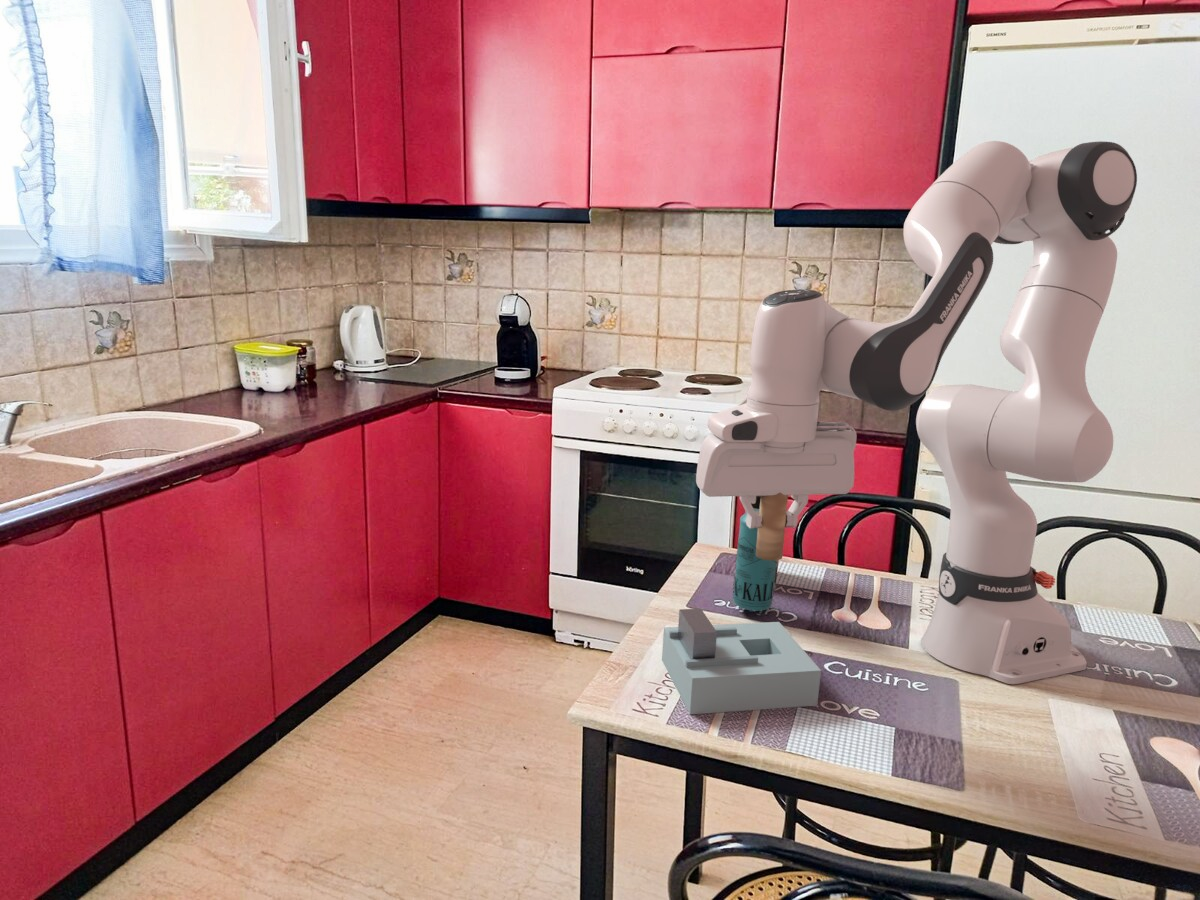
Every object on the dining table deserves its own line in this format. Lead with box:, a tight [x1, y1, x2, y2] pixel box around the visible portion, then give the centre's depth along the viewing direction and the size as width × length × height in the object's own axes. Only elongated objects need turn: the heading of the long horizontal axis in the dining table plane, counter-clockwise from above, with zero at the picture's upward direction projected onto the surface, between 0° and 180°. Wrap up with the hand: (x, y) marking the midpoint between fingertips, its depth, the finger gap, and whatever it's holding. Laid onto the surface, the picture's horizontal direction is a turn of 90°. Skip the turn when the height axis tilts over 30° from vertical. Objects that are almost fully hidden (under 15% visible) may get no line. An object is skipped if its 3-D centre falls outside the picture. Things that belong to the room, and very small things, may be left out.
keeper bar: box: [677, 608, 717, 660], centre depth 111 cm, size 3×7×4 cm, turn 10°
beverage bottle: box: [732, 496, 777, 612], centre depth 133 cm, size 6×7×20 cm
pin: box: [756, 493, 789, 561], centre depth 109 cm, size 3×3×10 cm
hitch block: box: [661, 621, 822, 715], centre depth 113 cm, size 17×14×6 cm
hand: (771, 526), depth 109 cm, fingers closed on pin, 3 cm apart
